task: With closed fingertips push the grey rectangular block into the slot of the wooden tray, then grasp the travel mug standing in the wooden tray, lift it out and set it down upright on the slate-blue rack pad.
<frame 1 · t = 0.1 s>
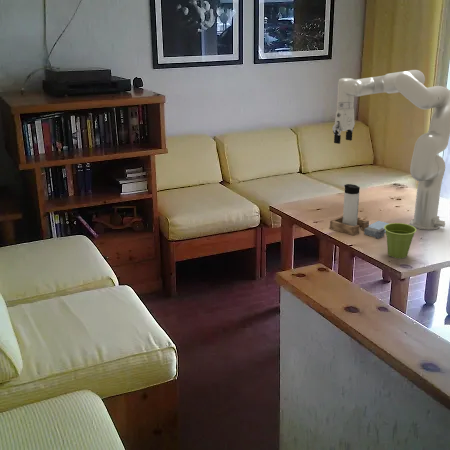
hand: (342, 141, 266), 31 cm above the table, tool pointing down, fingers open, 9 cm apart
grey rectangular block: (373, 231, 236), point 2 cm above the table, slide at 0.0 cm
rack pad: (382, 227, 245), on the table
travel mug: (349, 228, 244), resting in wooden tray
plant pot: (397, 255, 217), on the table
wooden tray: (349, 228, 244), on the table
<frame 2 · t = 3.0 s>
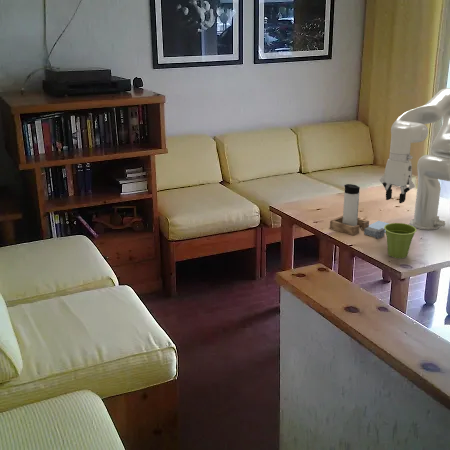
hand: (395, 200, 225), 17 cm above the table, tool pointing down, fingers open, 5 cm apart
nothing on the table moved.
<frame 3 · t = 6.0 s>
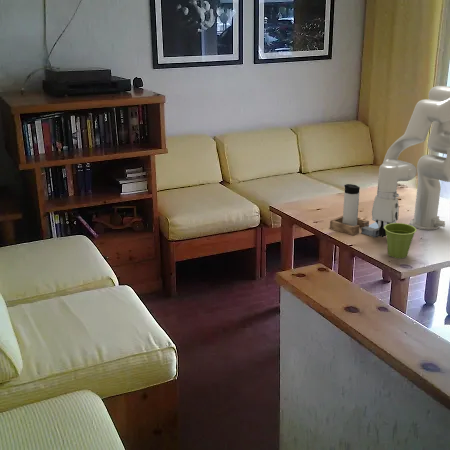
hand: (382, 235, 233), 1 cm above the table, tool pointing down, fingers closed
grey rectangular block: (370, 230, 237), point 2 cm above the table, slide at 1.5 cm, touching gripper
everything else where it was.
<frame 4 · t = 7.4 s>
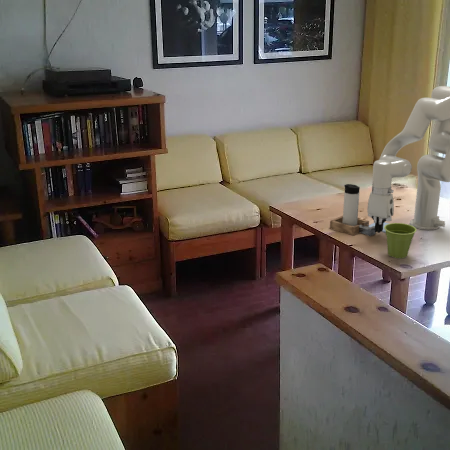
hand: (378, 231, 235), 2 cm above the table, tool pointing down, fingers closed
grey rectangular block: (365, 229, 238), point 2 cm above the table, slide at 4.0 cm
everything else where it was.
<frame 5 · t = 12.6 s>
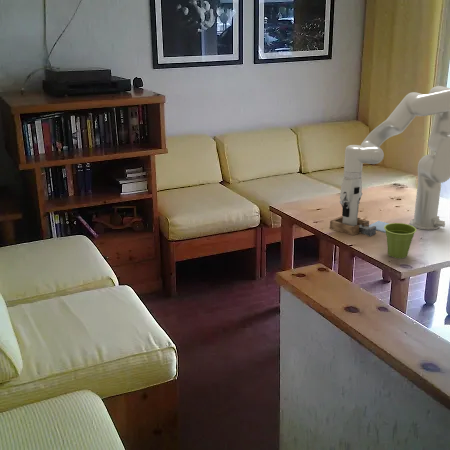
hand: (350, 214, 242), 7 cm above the table, tool pointing down, fingers closed on travel mug, 6 cm apart
travel mug: (349, 228, 244), resting in wooden tray, touching gripper
everything else where it was.
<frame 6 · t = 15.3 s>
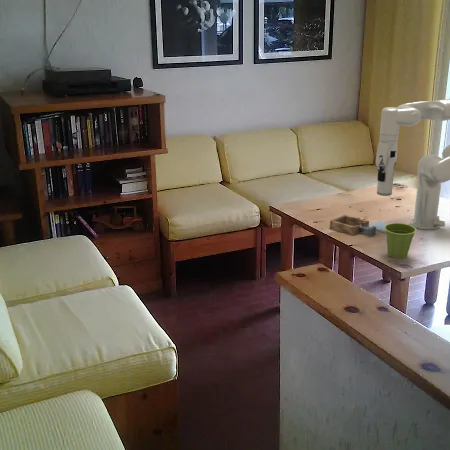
hand: (385, 179, 237), 22 cm above the table, tool pointing down, fingers closed on travel mug, 6 cm apart
travel mug: (383, 194, 240), point 15 cm above the table, touching gripper
everything else where it was.
when the fingers open (8 cm above the table, at t = 18.2 s): travel mug drops 1 cm, resting on rack pad.
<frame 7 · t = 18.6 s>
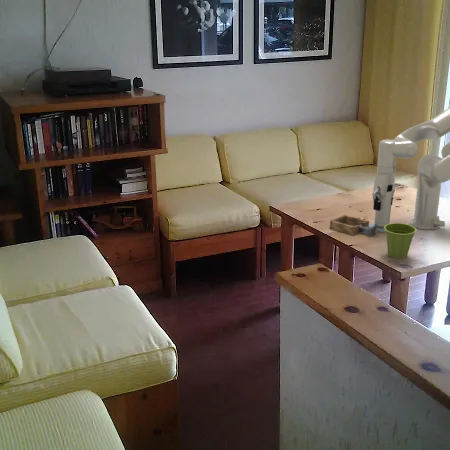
hand: (382, 207, 242), 9 cm above the table, tool pointing down, fingers open, 9 cm apart
travel mug: (381, 226, 245), resting on rack pad
everything else where it was.
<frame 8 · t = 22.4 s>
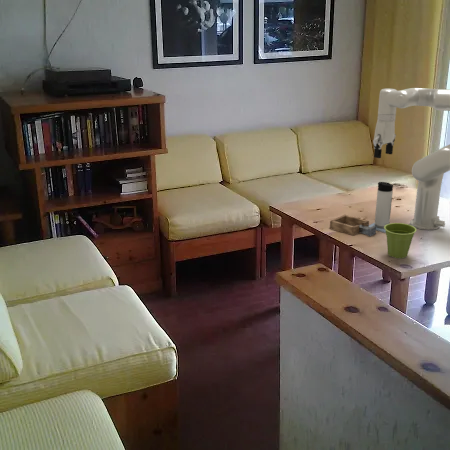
hand: (383, 155, 250), 28 cm above the table, tool pointing down, fingers open, 9 cm apart
nothing on the table moved.
at the end: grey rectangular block slide at 4.0 cm; travel mug inside the target area on the rack pad (0.6 cm from its centre), point 0.4 cm above the rack pad's base; travel mug tilted 0° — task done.
